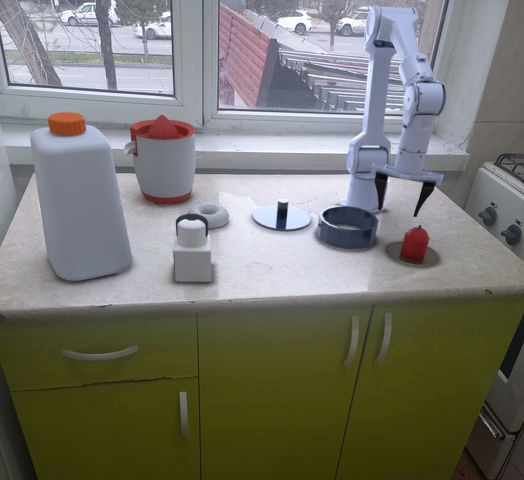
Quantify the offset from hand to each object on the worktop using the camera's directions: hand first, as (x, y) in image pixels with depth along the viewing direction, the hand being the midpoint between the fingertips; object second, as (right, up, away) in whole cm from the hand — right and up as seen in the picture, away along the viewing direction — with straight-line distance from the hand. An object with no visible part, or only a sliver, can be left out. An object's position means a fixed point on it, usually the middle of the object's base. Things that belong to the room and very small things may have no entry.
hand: (397, 211), depth 112 cm
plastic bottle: (-65, -12, -7) cm, 66 cm away
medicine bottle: (-44, -15, -8) cm, 47 cm away
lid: (-25, +2, +13) cm, 28 cm away
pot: (-10, -4, +8) cm, 14 cm away
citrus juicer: (-55, +9, +20) cm, 59 cm away
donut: (-43, 0, +10) cm, 44 cm away
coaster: (+4, -9, +4) cm, 10 cm away
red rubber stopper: (+4, -8, +3) cm, 10 cm away
